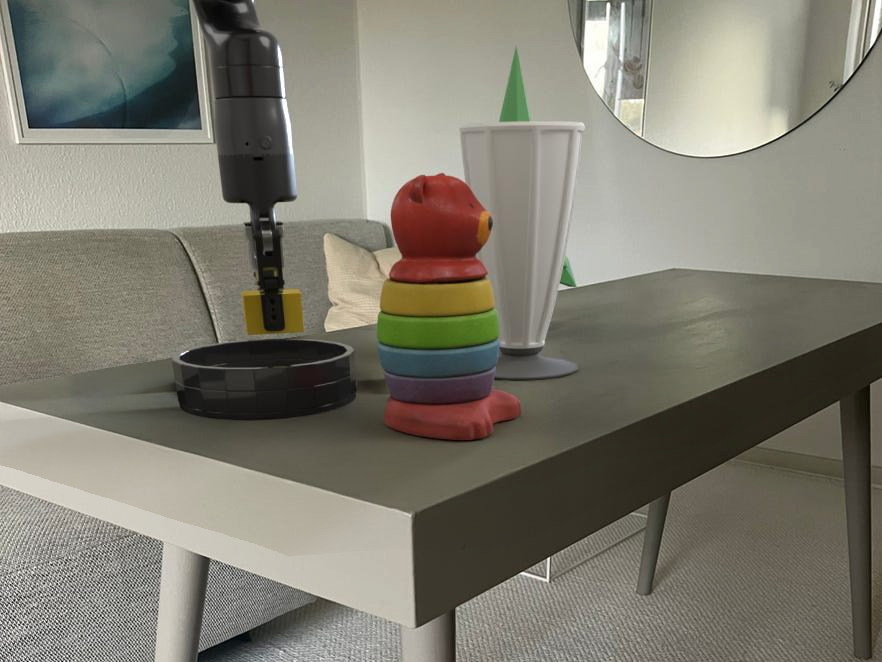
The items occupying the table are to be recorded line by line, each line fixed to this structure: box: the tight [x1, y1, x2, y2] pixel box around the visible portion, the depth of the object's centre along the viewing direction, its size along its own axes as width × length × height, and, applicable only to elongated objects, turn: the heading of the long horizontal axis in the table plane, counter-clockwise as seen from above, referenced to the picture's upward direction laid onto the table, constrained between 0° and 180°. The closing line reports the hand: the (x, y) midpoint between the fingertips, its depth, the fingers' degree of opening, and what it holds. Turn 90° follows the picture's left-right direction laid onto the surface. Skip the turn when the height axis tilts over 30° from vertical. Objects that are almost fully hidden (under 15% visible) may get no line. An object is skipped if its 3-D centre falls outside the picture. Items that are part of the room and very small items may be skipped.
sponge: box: [241, 288, 305, 336], centre depth 106 cm, size 6×4×4 cm, turn 104°
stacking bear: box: [376, 172, 522, 441], centre depth 74 cm, size 11×10×18 cm
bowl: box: [171, 338, 357, 420], centre depth 86 cm, size 15×15×4 cm
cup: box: [459, 120, 586, 381], centre depth 93 cm, size 12×12×22 cm
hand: (273, 326), depth 107 cm, fingers closed on sponge, 4 cm apart
